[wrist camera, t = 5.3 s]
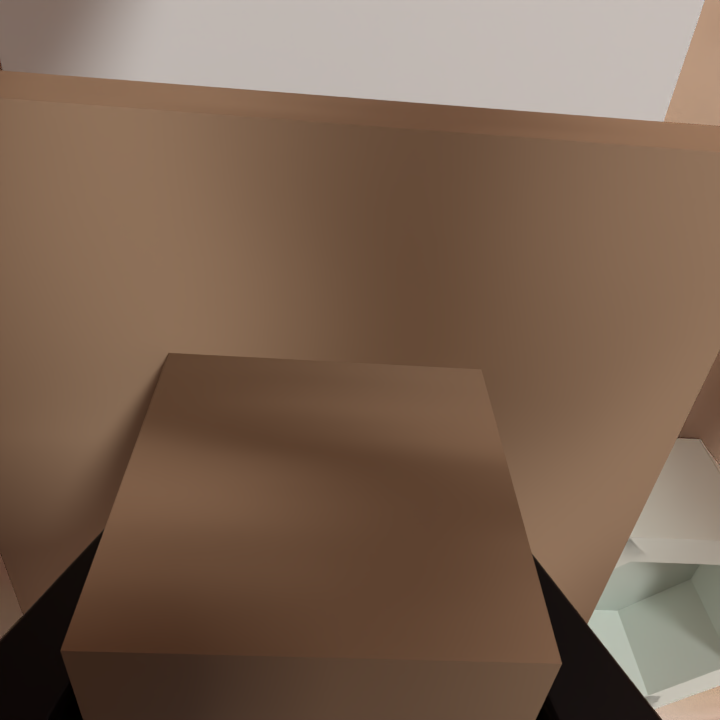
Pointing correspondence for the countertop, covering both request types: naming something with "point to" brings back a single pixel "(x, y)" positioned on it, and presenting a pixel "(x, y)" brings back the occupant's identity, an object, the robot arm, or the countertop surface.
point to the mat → (373, 48)
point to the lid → (336, 386)
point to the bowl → (669, 584)
